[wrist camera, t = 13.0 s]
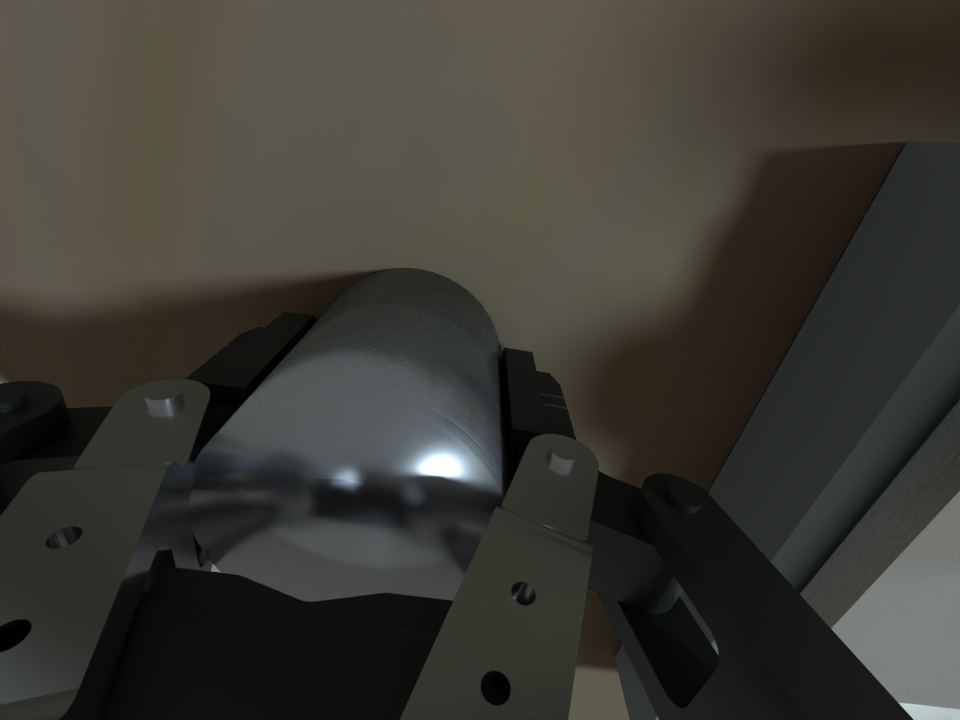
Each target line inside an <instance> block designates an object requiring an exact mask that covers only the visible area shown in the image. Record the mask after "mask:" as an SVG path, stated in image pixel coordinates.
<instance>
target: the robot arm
mask: <svg viewBox="0 0 960 720" xmlns="http://www.w3.org/2000/svg"><path fill="white" fill-rule="evenodd" d="M316 322H317V319H316V317H314V316H308V315H301V314H295V313H289V312H283V313H282V314H281V315H279V316H278V317H277V318H276V319H275V320H274V321H273V322H271V323H270V324H269V325H268V326H267V327H266V328H263V327H258V328H255V329H253V330H250V331H247V332H245V333H242V334H240V335H239V336H237V337H236V338H235V339H234V340H233V341H231V342H230V343H229V344H228V346H227V347H226V346H225V347H224V348H223V349H221V350H220V351H219V352H218V353H217V355H214V356H213V357H212V358H210V359H209V360H208V361H207V362H206V363H204V364H203V365H202V366H201V367H199V368H198V369H197V370H196V371H194V372H193V373H192V374H191V375H190V376H188V377H187V378H186V379H165V380H158V381H153V382H149V383H145V384H142V385H140V386H137V387H135V388H133V389H131V390H129V391H127V392H126V393H124V394H123V395H122V396H121V397H120V398H119V399H118V400H117V401H116V403H115V404H114V406H111V407H87V408H67V407H66V404H65V401H64V398H63V395H62V392H61V390H60V389H59V388H58V387H57V386H54V385H52V384H49V383H44V382H35V381H21V382H10V383H3V384H0V720H568V717H569V710H570V703H571V696H572V689H573V683H574V676H575V669H576V662H577V655H578V649H579V642H580V635H581V628H582V621H583V615H584V608H585V601H586V594H587V588H590V589H592V590H594V591H596V592H598V594H599V597H600V600H601V602H602V604H603V606H604V608H605V610H606V612H607V614H608V616H609V618H610V620H611V622H612V624H613V627H614V629H615V631H616V633H617V635H618V637H619V639H620V641H621V643H622V645H623V647H624V649H625V651H626V653H627V655H628V657H629V659H630V661H631V663H632V665H633V667H634V669H635V671H636V673H637V676H638V678H639V680H640V682H641V684H642V686H643V688H644V690H645V692H646V694H647V696H648V698H649V700H650V702H651V704H652V706H653V708H654V710H655V712H656V714H657V716H658V718H659V720H914V719H913V718H912V717H911V716H910V715H909V714H908V713H907V712H906V711H905V710H904V708H903V707H902V706H901V705H900V704H899V703H898V702H897V701H896V700H895V699H894V697H893V696H892V695H891V694H890V693H889V692H888V691H887V690H886V689H885V688H884V686H883V685H882V684H881V683H880V682H879V681H878V680H877V679H876V678H875V677H874V675H873V674H872V673H871V672H870V671H869V670H868V669H867V668H866V667H865V665H864V664H863V663H862V662H861V661H860V660H859V659H858V658H857V657H856V656H855V654H854V653H853V652H852V651H851V650H850V649H849V648H848V647H847V646H846V645H845V643H844V642H843V641H842V640H841V639H840V638H839V637H838V636H837V635H836V634H835V632H834V631H833V630H832V629H831V628H830V627H829V626H828V625H827V624H826V622H825V621H824V620H823V619H822V618H821V617H820V616H819V615H818V614H817V613H816V611H815V610H814V609H813V608H812V607H811V606H810V605H809V604H808V603H807V602H806V600H805V599H804V598H803V597H802V596H801V595H800V594H799V593H798V592H797V591H796V589H795V588H794V587H793V586H792V585H791V584H790V583H789V582H788V581H787V580H786V578H785V577H784V576H783V575H782V574H781V573H780V572H779V571H778V570H777V568H776V567H775V566H774V565H773V564H772V563H771V562H770V561H769V560H768V559H767V557H766V556H765V555H764V554H763V553H762V552H761V551H760V550H759V549H758V548H757V546H756V545H755V544H754V543H753V542H752V541H751V540H750V539H749V538H748V537H747V535H746V534H745V533H744V532H743V531H742V530H741V529H740V528H739V527H738V526H737V524H736V523H735V522H734V521H733V520H732V519H731V518H730V517H729V516H728V514H727V513H726V512H725V511H724V510H723V509H722V508H721V507H720V506H719V505H718V503H717V502H716V501H715V500H714V499H713V498H712V497H711V496H710V495H709V494H708V493H707V492H705V491H704V490H703V489H701V488H700V487H699V486H697V485H695V484H694V483H692V482H690V481H688V480H686V479H683V478H681V477H678V476H674V475H670V474H654V475H651V476H649V477H648V478H646V480H645V481H644V483H643V485H642V487H641V488H638V487H635V486H633V485H630V484H627V483H625V482H622V481H619V480H617V479H614V478H612V477H609V476H607V475H605V474H604V473H602V472H600V471H599V464H598V461H597V459H596V457H595V456H594V454H593V453H592V452H591V451H590V450H589V449H588V448H587V447H586V446H585V445H583V444H582V443H580V442H578V441H576V437H575V434H574V431H573V427H572V424H571V420H570V417H569V414H568V410H567V409H566V403H565V400H564V399H563V393H562V390H561V386H560V384H559V383H558V382H557V381H556V380H555V379H554V378H553V377H552V376H551V375H550V374H549V373H545V372H539V371H536V367H535V362H534V358H533V353H532V352H529V351H522V350H516V349H510V348H504V350H503V352H502V356H501V361H500V368H501V384H502V400H503V416H504V432H505V448H506V464H507V480H508V491H507V494H506V496H505V498H504V500H503V503H502V505H501V506H499V505H497V507H496V508H495V510H494V512H493V514H492V516H491V518H490V521H489V523H488V525H487V527H486V530H485V532H484V534H483V536H482V538H481V541H480V543H479V545H478V547H477V550H476V552H475V554H474V556H473V558H472V561H471V563H470V565H469V567H468V569H467V572H466V574H465V576H464V578H463V581H462V583H461V585H460V587H459V589H458V592H457V594H456V596H455V598H454V600H444V599H436V598H428V597H419V596H411V595H402V594H394V593H378V594H370V595H362V596H354V597H346V598H338V599H330V600H322V601H313V602H308V601H303V600H299V599H297V598H294V597H292V596H290V595H287V594H285V593H282V592H280V591H277V590H275V589H273V588H270V587H268V586H265V585H263V584H260V583H258V582H256V581H253V580H251V579H248V578H246V577H243V576H241V575H235V574H227V573H219V572H211V568H212V564H213V563H212V562H211V561H210V559H209V553H208V550H204V549H202V548H201V547H200V545H199V544H198V542H197V540H196V538H195V536H194V534H193V532H192V528H191V523H190V515H189V504H190V495H191V489H192V486H193V483H194V479H195V476H194V470H193V464H194V462H195V460H196V458H197V456H198V454H199V453H200V452H201V451H202V449H203V448H204V447H205V446H206V445H207V443H208V442H209V441H210V440H211V439H212V438H213V436H214V435H215V434H216V433H217V432H218V431H219V430H220V429H221V428H222V426H223V425H224V424H225V423H226V422H227V421H228V420H229V419H230V418H231V416H232V415H233V414H234V413H235V412H236V411H237V410H238V409H239V408H240V407H241V405H242V404H243V403H244V402H245V401H246V400H247V399H248V398H249V397H250V395H251V394H252V393H253V392H254V391H255V390H256V389H257V388H258V387H259V385H260V384H261V383H262V382H263V381H264V380H265V379H266V378H267V377H268V375H269V374H270V373H271V372H272V371H273V370H274V369H275V368H276V367H277V365H278V364H279V363H280V362H281V361H282V360H283V359H284V358H285V357H286V355H287V354H288V353H289V352H290V351H291V350H292V349H293V348H294V347H295V345H296V344H297V343H298V342H299V341H300V340H301V339H302V338H303V337H304V335H305V334H306V333H307V332H308V331H309V330H310V329H311V328H312V327H313V325H314V324H315V323H316ZM683 590H684V592H685V593H686V595H687V596H688V598H689V599H690V601H691V602H692V604H693V605H694V607H695V608H696V610H697V611H698V613H699V614H700V616H701V617H702V619H703V620H704V622H705V623H706V625H707V626H708V628H709V629H710V631H711V633H712V635H713V637H714V639H715V641H716V644H717V648H718V653H719V655H718V654H717V652H716V651H715V649H714V648H713V646H712V645H711V643H710V642H709V640H708V638H707V637H706V635H705V634H704V632H703V631H702V629H701V628H700V626H699V625H698V623H697V622H696V620H695V619H694V617H693V616H692V614H691V613H690V611H689V610H688V608H687V606H686V605H685V603H684V602H683V600H682V599H681V597H680V594H681V593H682V591H683Z"/></svg>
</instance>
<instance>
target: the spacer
mask: <svg viewBox="0 0 960 720" xmlns="http://www.w3.org/2000/svg"><path fill="white" fill-rule="evenodd" d="M193 470H194V476H195V479H194V483H193V486H192V489H191V495H190V504H189V515H190V523H191V528H192V532H193V534H194V536H195V538H196V540H197V542H198V544H199V545H200V547H201V548H202V549H204V550H208V553H209V559H210V561H211V562H212V563H213V564H214V565H215V566H216V567H217V569H219V571H221V572H222V573H227V574H235V575H241V576H243V577H246V578H248V579H251V580H253V581H256V582H258V583H260V584H263V585H265V586H268V587H270V588H273V589H275V590H277V591H280V592H282V593H285V594H287V595H290V596H292V597H294V598H297V599H299V600H303V601H308V602H313V601H322V600H330V599H338V598H346V597H354V596H362V595H370V594H378V593H394V594H402V595H411V596H419V597H428V598H436V599H444V600H454V598H455V596H456V594H457V592H458V589H459V587H460V585H461V583H462V581H463V578H464V576H465V574H466V572H467V569H468V567H469V565H470V563H471V561H472V558H473V556H474V554H475V552H476V550H477V547H478V545H479V543H480V541H481V538H482V536H483V534H484V532H485V530H486V527H487V525H488V523H489V521H490V518H491V516H492V514H493V512H494V510H495V508H496V507H497V505H499V506H501V505H502V503H503V500H504V498H505V496H506V494H507V491H508V480H507V464H506V448H505V432H504V416H503V400H502V384H501V368H500V352H499V343H498V337H497V334H496V330H495V327H494V325H493V323H492V320H491V318H490V316H489V315H488V313H487V312H486V310H485V309H484V307H483V306H482V305H481V303H480V302H479V301H478V300H477V299H476V298H475V297H474V296H473V295H472V294H471V293H470V292H469V291H468V290H466V289H465V288H463V287H462V286H461V285H459V284H458V283H456V282H454V281H452V280H450V279H448V278H447V277H444V276H442V275H439V274H436V273H433V272H429V271H425V270H420V269H411V268H398V269H390V270H384V271H380V272H377V273H373V274H371V275H369V276H366V277H364V278H362V279H360V280H359V281H357V282H356V283H354V284H352V285H351V286H350V287H349V288H348V289H347V290H345V291H344V292H343V293H342V294H341V295H340V297H339V298H338V299H337V300H336V301H335V302H334V303H333V304H332V305H331V307H330V308H329V309H328V310H327V311H326V312H325V313H324V314H323V315H322V317H321V318H320V319H319V320H318V321H317V322H316V323H315V324H314V325H313V327H312V328H311V329H310V330H309V331H308V332H307V333H306V334H305V335H304V337H303V338H302V339H301V340H300V341H299V342H298V343H297V344H296V345H295V347H294V348H293V349H292V350H291V351H290V352H289V353H288V354H287V355H286V357H285V358H284V359H283V360H282V361H281V362H280V363H279V364H278V365H277V367H276V368H275V369H274V370H273V371H272V372H271V373H270V374H269V375H268V377H267V378H266V379H265V380H264V381H263V382H262V383H261V384H260V385H259V387H258V388H257V389H256V390H255V391H254V392H253V393H252V394H251V395H250V397H249V398H248V399H247V400H246V401H245V402H244V403H243V404H242V405H241V407H240V408H239V409H238V410H237V411H236V412H235V413H234V414H233V415H232V416H231V418H230V419H229V420H228V421H227V422H226V423H225V424H224V425H223V426H222V428H221V429H220V430H219V431H218V432H217V433H216V434H215V435H214V436H213V438H212V439H211V440H210V441H209V442H208V443H207V445H206V446H205V447H204V448H203V449H202V451H201V452H200V453H199V454H198V456H197V458H196V460H195V462H194V464H193Z"/></svg>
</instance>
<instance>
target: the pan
mask: <svg viewBox="0 0 960 720" xmlns="http://www.w3.org/2000/svg"><path fill="white" fill-rule="evenodd" d="M800 595H801V596H802V597H803V598H804V599H805V600H806V602H807V603H808V604H809V605H810V606H811V607H812V608H813V609H814V610H815V611H816V613H817V614H818V615H819V616H820V617H821V618H822V619H823V620H824V621H825V622H826V624H827V625H828V626H829V627H830V628H831V629H832V630H833V631H834V632H835V634H836V635H837V636H838V637H839V638H840V639H841V640H842V641H843V642H844V643H845V645H846V646H847V647H848V648H849V649H850V650H851V651H852V652H853V653H854V654H855V656H856V657H857V658H858V659H859V660H860V661H861V662H862V663H863V664H864V665H865V667H866V668H867V669H868V670H869V671H870V672H871V673H872V674H873V675H874V677H875V678H876V679H877V680H878V681H879V682H880V683H881V684H882V685H883V686H884V688H885V689H886V690H887V691H888V692H889V693H890V694H891V695H892V696H893V697H894V699H895V700H896V701H897V702H898V703H907V704H916V705H925V706H934V707H943V708H952V709H960V400H959V401H958V403H957V404H956V405H955V406H954V407H953V409H952V410H951V411H950V412H949V413H948V415H947V416H946V417H945V418H944V420H943V421H942V422H941V423H940V424H939V426H938V427H937V428H936V429H935V430H934V432H933V433H932V434H931V435H930V437H929V438H928V439H927V440H926V441H925V443H924V444H923V445H922V446H921V447H920V449H919V450H918V451H917V452H916V454H915V455H914V456H913V457H912V458H911V460H910V461H909V462H908V463H907V464H906V466H905V467H904V468H903V469H902V471H901V472H900V473H899V474H898V475H897V477H896V478H895V479H894V480H893V481H892V483H891V484H890V485H889V486H888V488H887V489H886V490H885V491H884V492H883V494H882V495H881V496H880V497H879V498H878V500H877V501H876V502H875V503H874V505H873V506H872V507H871V508H870V509H869V511H868V512H867V513H866V514H865V515H864V517H863V518H862V519H861V520H860V522H859V523H858V524H857V525H856V526H855V528H854V529H853V530H852V531H851V532H850V534H849V535H848V536H847V537H846V539H845V540H844V541H843V542H842V543H841V545H840V546H839V547H838V548H837V549H836V551H835V552H834V553H833V554H832V556H831V557H830V558H829V559H828V560H827V562H826V563H825V564H824V565H823V566H822V568H821V569H820V570H819V571H818V573H817V574H816V575H815V576H814V577H813V579H812V580H811V581H810V582H809V584H808V585H807V586H806V587H805V588H804V590H803V591H802V592H801V593H800Z"/></svg>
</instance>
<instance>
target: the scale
mask: <svg viewBox="0 0 960 720" xmlns="http://www.w3.org/2000/svg"><path fill="white" fill-rule="evenodd" d="M959 400H960V143H941V142H907V143H906V144H905V146H904V148H903V150H902V151H901V153H900V155H899V157H898V158H897V160H896V162H895V164H894V166H893V167H892V169H891V171H890V173H889V174H888V176H887V178H886V180H885V181H884V183H883V185H882V187H881V188H880V190H879V192H878V194H877V196H876V197H875V199H874V201H873V203H872V204H871V206H870V208H869V210H868V211H867V213H866V215H865V217H864V218H863V220H862V222H861V224H860V226H859V227H858V229H857V231H856V233H855V234H854V236H853V238H852V240H851V241H850V243H849V245H848V247H847V248H846V250H845V252H844V254H843V256H842V257H841V259H840V261H839V263H838V264H837V266H836V268H835V270H834V271H833V273H832V275H831V277H830V278H829V280H828V282H827V284H826V286H825V287H824V289H823V291H822V293H821V294H820V296H819V298H818V300H817V301H816V303H815V305H814V307H813V308H812V310H811V312H810V314H809V316H808V317H807V319H806V321H805V323H804V324H803V326H802V328H801V330H800V331H799V333H798V335H797V337H796V338H795V340H794V342H793V344H792V345H791V347H790V349H789V351H788V353H787V354H786V356H785V358H784V360H783V361H782V363H781V365H780V367H779V368H778V370H777V372H776V374H775V375H774V377H773V379H772V381H771V383H770V384H769V386H768V388H767V390H766V391H765V393H764V395H763V397H762V398H761V400H760V402H759V404H758V405H757V407H756V409H755V411H754V413H753V414H752V416H751V418H750V420H749V421H748V423H747V425H746V427H745V428H744V430H743V432H742V434H741V435H740V437H739V439H738V441H737V443H736V444H735V446H734V448H733V450H732V451H731V453H730V455H729V457H728V458H727V460H726V462H725V464H724V465H723V467H722V469H721V471H720V473H719V474H718V476H717V478H716V480H715V481H714V483H713V485H712V487H711V488H710V490H709V492H708V494H709V495H710V496H711V497H712V498H713V499H714V500H715V501H716V502H717V503H718V505H719V506H720V507H721V508H722V509H723V510H724V511H725V512H726V513H727V514H728V516H729V517H730V518H731V519H732V520H733V521H734V522H735V523H736V524H737V526H738V527H739V528H740V529H741V530H742V531H743V532H744V533H745V534H746V535H747V537H748V538H749V539H750V540H751V541H752V542H753V543H754V544H755V545H756V546H757V548H758V549H759V550H760V551H761V552H762V553H763V554H764V555H765V556H766V557H767V559H768V560H769V561H770V562H771V563H772V564H773V565H774V566H775V567H776V568H777V570H778V571H779V572H780V573H781V574H782V575H783V576H784V577H785V578H786V580H787V581H788V582H789V583H790V584H791V585H792V586H793V587H794V588H795V589H796V591H797V592H798V593H799V594H800V593H801V592H802V591H803V590H804V588H805V587H806V586H807V585H808V584H809V582H810V581H811V580H812V579H813V577H814V576H815V575H816V574H817V573H818V571H819V570H820V569H821V568H822V566H823V565H824V564H825V563H826V562H827V560H828V559H829V558H830V557H831V556H832V554H833V553H834V552H835V551H836V549H837V548H838V547H839V546H840V545H841V543H842V542H843V541H844V540H845V539H846V537H847V536H848V535H849V534H850V532H851V531H852V530H853V529H854V528H855V526H856V525H857V524H858V523H859V522H860V520H861V519H862V518H863V517H864V515H865V514H866V513H867V512H868V511H869V509H870V508H871V507H872V506H873V505H874V503H875V502H876V501H877V500H878V498H879V497H880V496H881V495H882V494H883V492H884V491H885V490H886V489H887V488H888V486H889V485H890V484H891V483H892V481H893V480H894V479H895V478H896V477H897V475H898V474H899V473H900V472H901V471H902V469H903V468H904V467H905V466H906V464H907V463H908V462H909V461H910V460H911V458H912V457H913V456H914V455H915V454H916V452H917V451H918V450H919V449H920V447H921V446H922V445H923V444H924V443H925V441H926V440H927V439H928V438H929V437H930V435H931V434H932V433H933V432H934V430H935V429H936V428H937V427H938V426H939V424H940V423H941V422H942V421H943V420H944V418H945V417H946V416H947V415H948V413H949V412H950V411H951V410H952V409H953V407H954V406H955V405H956V404H957V403H958V401H959ZM680 597H681V599H682V600H683V602H684V603H685V605H686V606H687V608H688V610H689V611H690V613H691V614H692V616H693V617H694V619H695V620H696V622H697V623H698V625H699V626H700V628H701V629H702V631H703V632H704V634H705V635H706V637H707V638H708V640H709V642H710V643H711V645H712V646H713V648H714V649H715V651H716V652H717V654H718V655H719V653H718V648H717V644H716V641H715V639H714V637H713V635H712V633H711V631H710V629H709V628H708V626H707V625H706V623H705V622H704V620H703V619H702V617H701V616H700V614H699V613H698V611H697V610H696V608H695V607H694V605H693V604H692V602H691V601H690V599H689V598H688V596H687V595H686V593H685V592H684V590H683V591H682V593H681V594H680ZM615 661H616V665H617V669H618V673H619V677H620V681H621V685H622V689H623V694H624V698H625V702H626V706H627V710H628V714H629V718H630V720H659V718H658V716H657V714H656V712H655V710H654V708H653V706H652V704H651V702H650V700H649V698H648V696H647V694H646V692H645V690H644V688H643V686H642V684H641V682H640V680H639V678H638V676H637V673H636V671H635V669H634V667H633V665H632V663H631V661H630V659H629V657H628V655H627V653H626V651H625V649H624V647H623V645H621V647H620V649H619V651H618V652H617V654H616V656H615ZM899 704H900V705H901V706H902V707H903V708H904V710H905V711H906V712H907V713H908V714H909V715H910V716H911V717H912V718H913V719H914V720H960V709H952V708H943V707H934V706H925V705H916V704H907V703H899Z"/></svg>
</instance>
